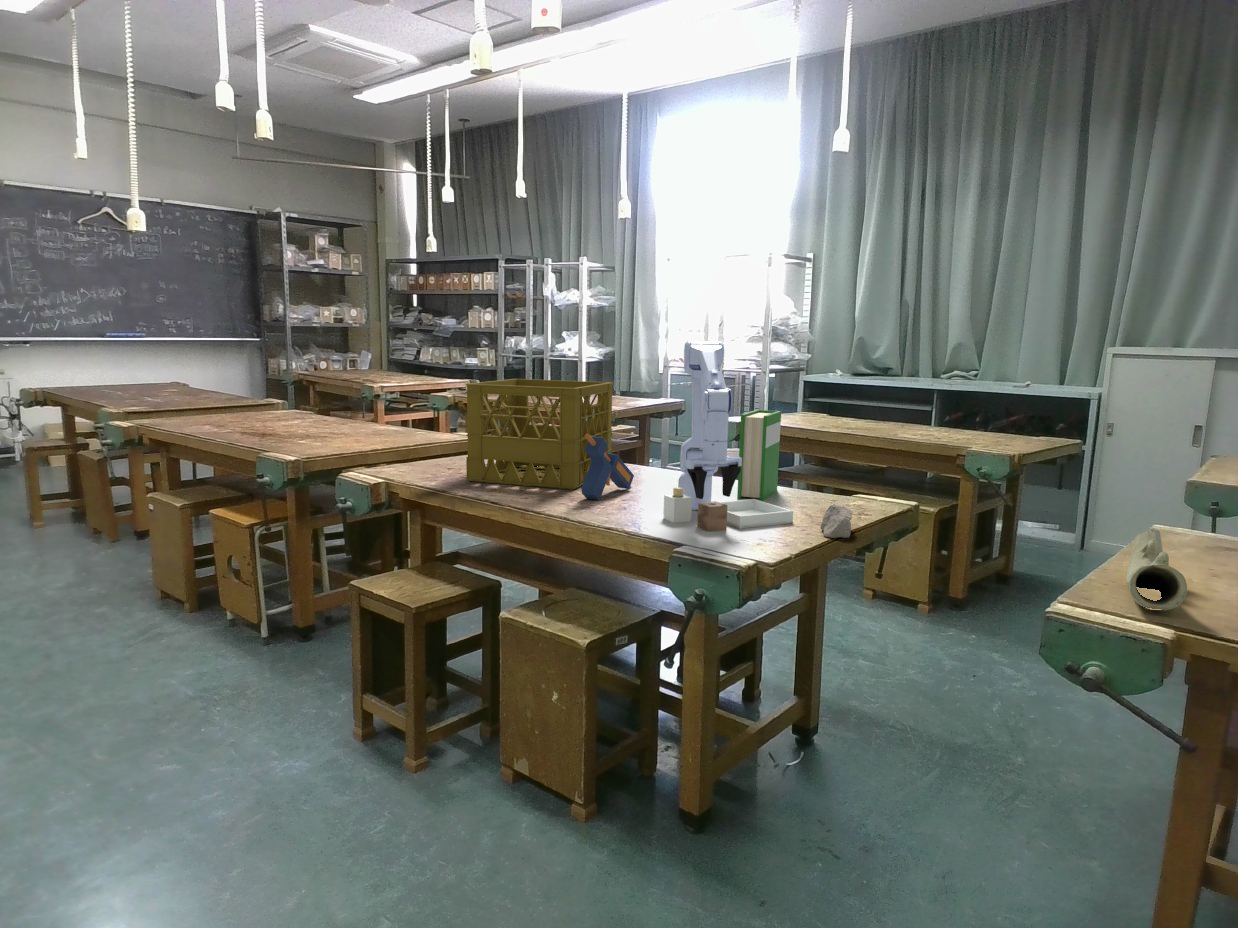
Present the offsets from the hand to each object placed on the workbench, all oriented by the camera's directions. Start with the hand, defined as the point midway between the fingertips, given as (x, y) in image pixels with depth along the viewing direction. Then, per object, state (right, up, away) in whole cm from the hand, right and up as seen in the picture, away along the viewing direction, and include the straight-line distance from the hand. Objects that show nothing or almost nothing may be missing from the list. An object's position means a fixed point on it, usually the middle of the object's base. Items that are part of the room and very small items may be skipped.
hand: (713, 497), depth 188 cm
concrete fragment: (+29, -9, 0) cm, 31 cm away
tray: (+10, -6, +12) cm, 17 cm away
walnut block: (0, -8, +1) cm, 8 cm away
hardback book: (+18, -1, +44) cm, 48 cm away
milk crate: (-47, +3, +66) cm, 81 cm away
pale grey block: (-8, -6, +10) cm, 14 cm away
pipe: (+74, -16, -42) cm, 87 cm away
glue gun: (-25, -1, +40) cm, 47 cm away
